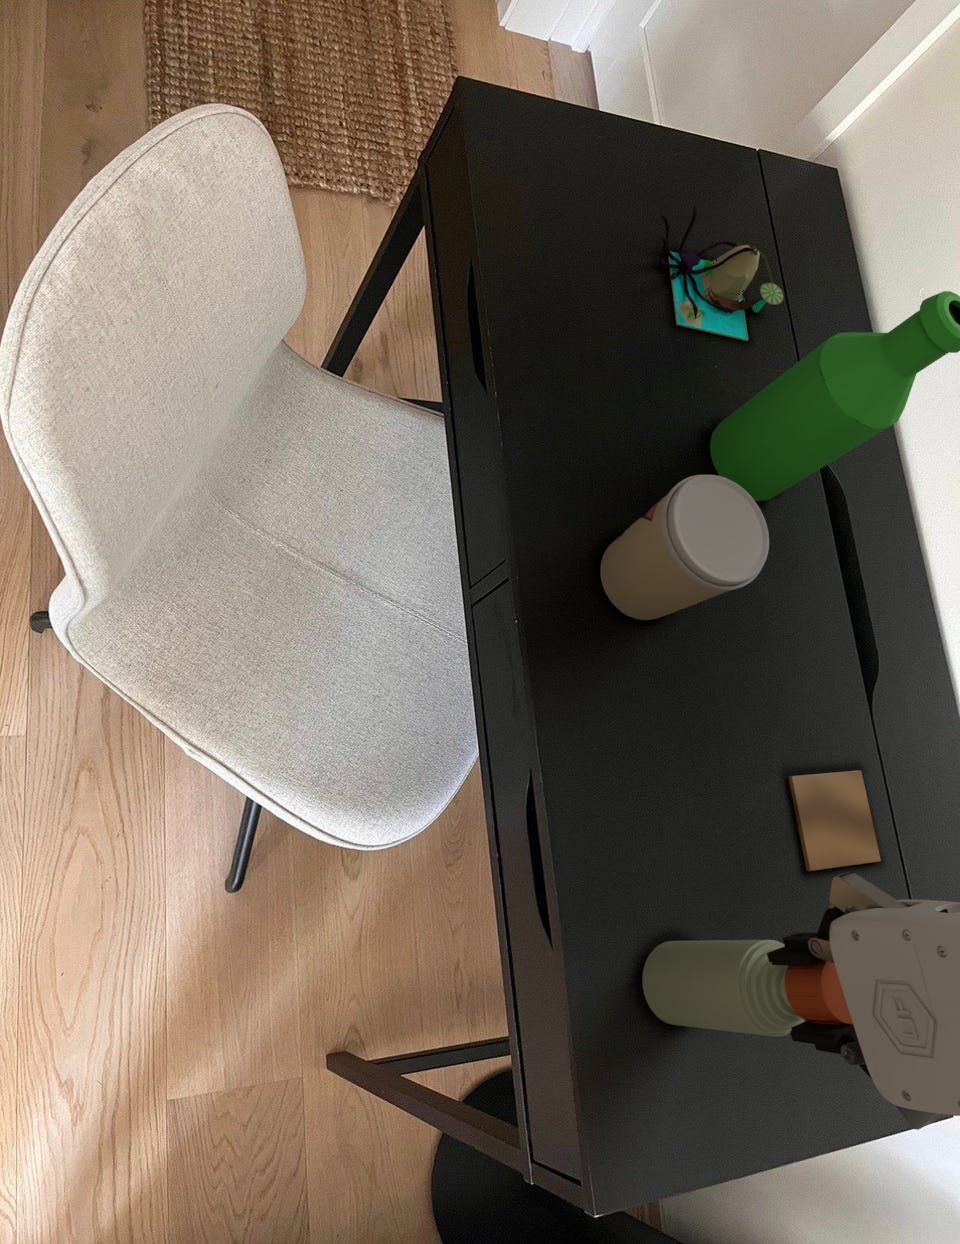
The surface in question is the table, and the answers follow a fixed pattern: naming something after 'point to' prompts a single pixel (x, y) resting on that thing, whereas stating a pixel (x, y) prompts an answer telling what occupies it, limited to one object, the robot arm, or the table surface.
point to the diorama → (716, 286)
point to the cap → (817, 994)
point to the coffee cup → (686, 549)
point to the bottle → (831, 400)
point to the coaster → (834, 820)
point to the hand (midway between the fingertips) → (798, 989)
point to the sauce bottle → (719, 986)
